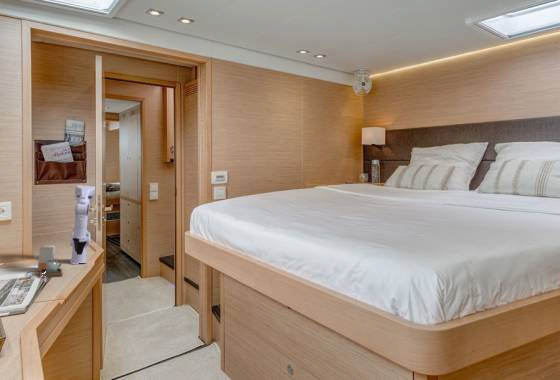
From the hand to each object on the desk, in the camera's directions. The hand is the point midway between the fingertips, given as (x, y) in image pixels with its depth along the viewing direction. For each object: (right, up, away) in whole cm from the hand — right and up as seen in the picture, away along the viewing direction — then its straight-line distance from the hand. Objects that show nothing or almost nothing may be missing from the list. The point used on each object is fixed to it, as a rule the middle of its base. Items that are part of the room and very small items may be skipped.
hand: (78, 252), depth 186 cm
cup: (-9, -9, -9) cm, 15 cm away
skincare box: (-17, -9, -1) cm, 19 cm away
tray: (-9, -9, -9) cm, 15 cm away
